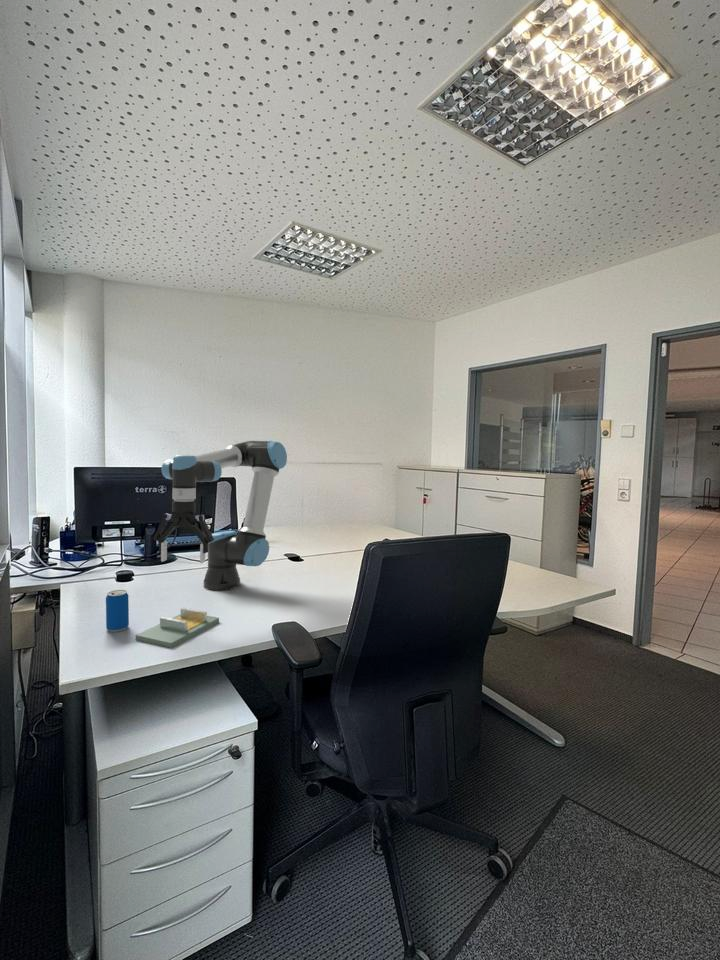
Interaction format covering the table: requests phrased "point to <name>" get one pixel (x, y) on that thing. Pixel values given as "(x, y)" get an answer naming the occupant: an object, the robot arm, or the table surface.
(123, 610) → the beverage can
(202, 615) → the chute bracket
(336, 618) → the table surface
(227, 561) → the robot arm
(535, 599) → the table surface
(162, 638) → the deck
